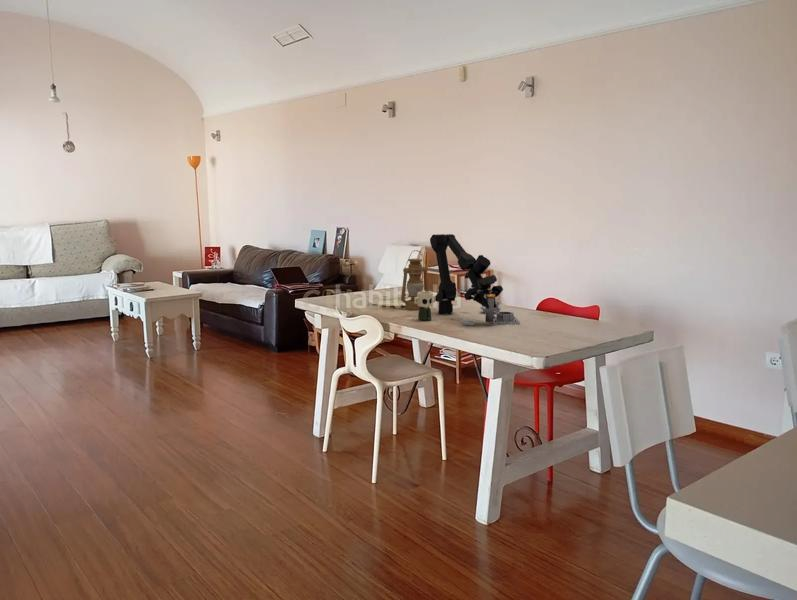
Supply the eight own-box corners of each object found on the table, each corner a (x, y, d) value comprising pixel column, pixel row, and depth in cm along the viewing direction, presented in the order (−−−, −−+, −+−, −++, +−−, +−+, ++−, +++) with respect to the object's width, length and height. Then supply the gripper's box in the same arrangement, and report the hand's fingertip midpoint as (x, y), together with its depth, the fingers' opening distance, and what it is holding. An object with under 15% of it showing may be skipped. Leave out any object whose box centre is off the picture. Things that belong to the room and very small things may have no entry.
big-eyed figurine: (417, 322, 296) (417, 294, 294) (411, 319, 302) (411, 292, 300) (438, 320, 300) (439, 292, 298) (431, 317, 307) (431, 290, 304)
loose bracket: (462, 325, 289) (462, 320, 288) (461, 322, 297) (461, 316, 296) (473, 325, 289) (474, 320, 288) (472, 322, 296) (472, 316, 296)
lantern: (410, 311, 322) (410, 251, 317) (397, 308, 330) (397, 250, 325) (432, 308, 332) (433, 250, 327) (419, 305, 340) (419, 248, 335)
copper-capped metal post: (485, 322, 287) (486, 294, 285) (484, 320, 291) (485, 293, 289) (494, 322, 287) (495, 295, 285) (493, 320, 291) (494, 293, 289)
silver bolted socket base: (493, 324, 292) (493, 315, 292) (490, 318, 304) (490, 310, 303) (519, 324, 292) (520, 315, 291) (515, 319, 304) (516, 310, 303)
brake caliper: (503, 310, 313) (488, 290, 313) (485, 322, 316) (470, 303, 317) (506, 306, 324) (492, 287, 324) (488, 318, 327) (475, 299, 328)
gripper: (468, 270, 284) (484, 298, 276) (501, 267, 293) (516, 295, 286) (457, 285, 291) (472, 313, 284) (489, 282, 301) (504, 309, 294)
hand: (491, 307), depth 287 cm, fingers closed on copper-capped metal post, 4 cm apart
